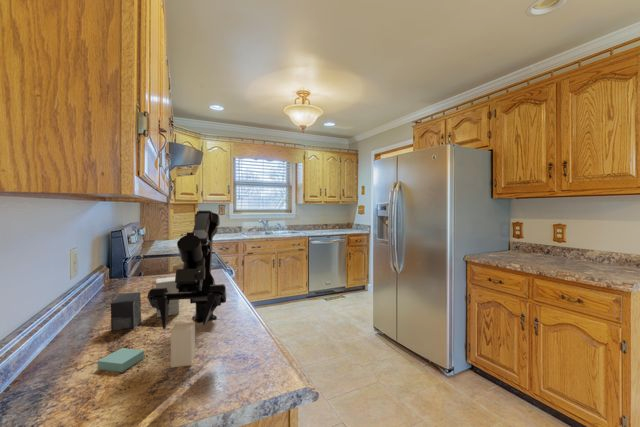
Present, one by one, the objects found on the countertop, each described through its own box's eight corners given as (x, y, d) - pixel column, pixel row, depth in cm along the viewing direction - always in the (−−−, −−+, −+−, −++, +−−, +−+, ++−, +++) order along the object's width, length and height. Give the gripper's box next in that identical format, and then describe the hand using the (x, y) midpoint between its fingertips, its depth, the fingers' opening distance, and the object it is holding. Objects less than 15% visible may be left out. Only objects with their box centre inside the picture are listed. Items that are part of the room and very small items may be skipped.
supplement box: (178, 308, 115) (177, 276, 115) (179, 314, 109) (178, 280, 108) (156, 311, 112) (156, 278, 111) (156, 317, 105) (155, 282, 105)
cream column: (175, 363, 74) (175, 323, 74) (195, 361, 75) (194, 322, 75) (171, 373, 69) (170, 331, 69) (191, 371, 70) (191, 329, 70)
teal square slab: (121, 355, 75) (121, 348, 75) (144, 358, 74) (144, 350, 74) (98, 369, 69) (98, 360, 69) (121, 372, 67) (121, 363, 67)
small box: (119, 324, 99) (119, 293, 99) (141, 321, 102) (141, 291, 101) (109, 337, 89) (109, 302, 89) (134, 333, 92) (134, 300, 92)
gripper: (149, 257, 76) (132, 314, 65) (225, 254, 80) (221, 308, 69) (159, 280, 84) (145, 335, 73) (227, 277, 88) (224, 328, 77)
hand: (184, 326), depth 73 cm, fingers open, 9 cm apart
